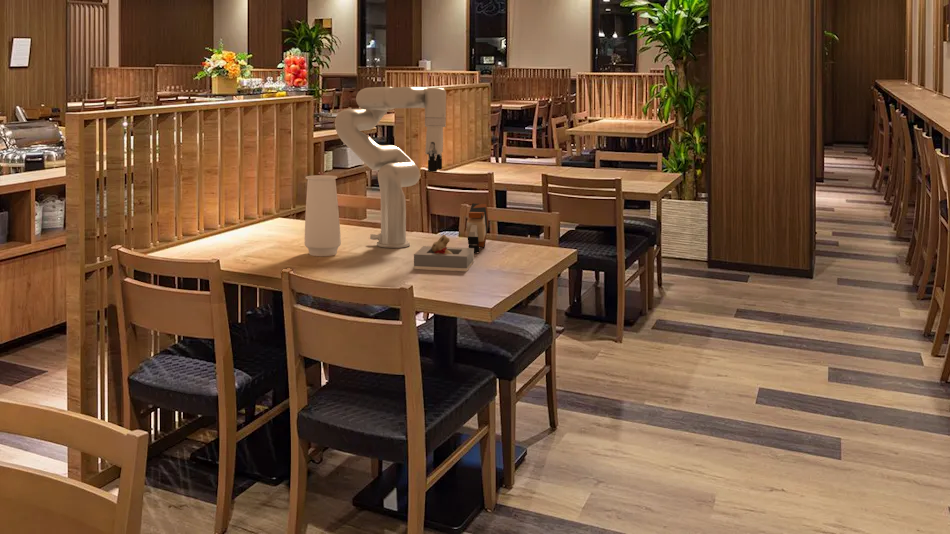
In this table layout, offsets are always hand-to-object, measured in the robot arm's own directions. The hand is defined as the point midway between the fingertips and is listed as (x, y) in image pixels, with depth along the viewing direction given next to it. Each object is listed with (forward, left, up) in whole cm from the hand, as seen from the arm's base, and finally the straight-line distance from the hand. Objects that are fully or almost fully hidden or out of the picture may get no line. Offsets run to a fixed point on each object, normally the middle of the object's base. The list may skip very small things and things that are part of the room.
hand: (435, 170), depth 325 cm
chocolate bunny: (+8, -24, -30) cm, 39 cm away
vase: (-39, -12, -31) cm, 51 cm away
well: (+8, -24, -30) cm, 39 cm away
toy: (+14, +10, -31) cm, 35 cm away
